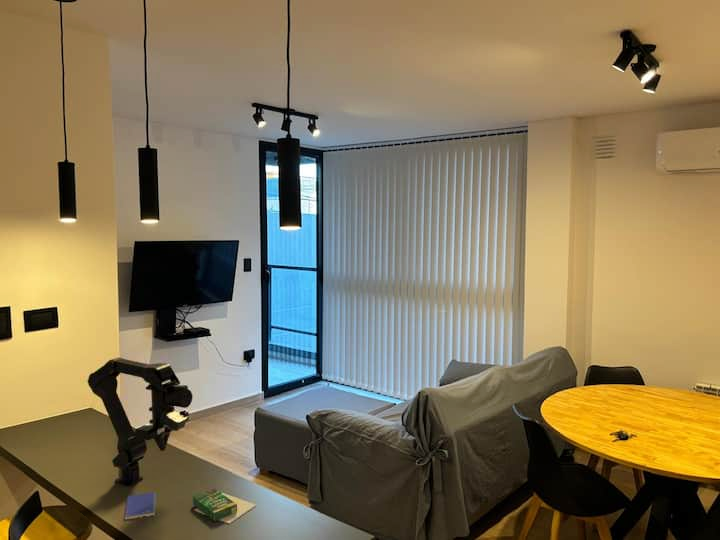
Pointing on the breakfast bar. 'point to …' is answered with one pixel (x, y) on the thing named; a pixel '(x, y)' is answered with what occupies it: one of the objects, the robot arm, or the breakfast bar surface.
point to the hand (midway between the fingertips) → (162, 450)
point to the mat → (241, 509)
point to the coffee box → (214, 504)
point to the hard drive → (140, 505)
